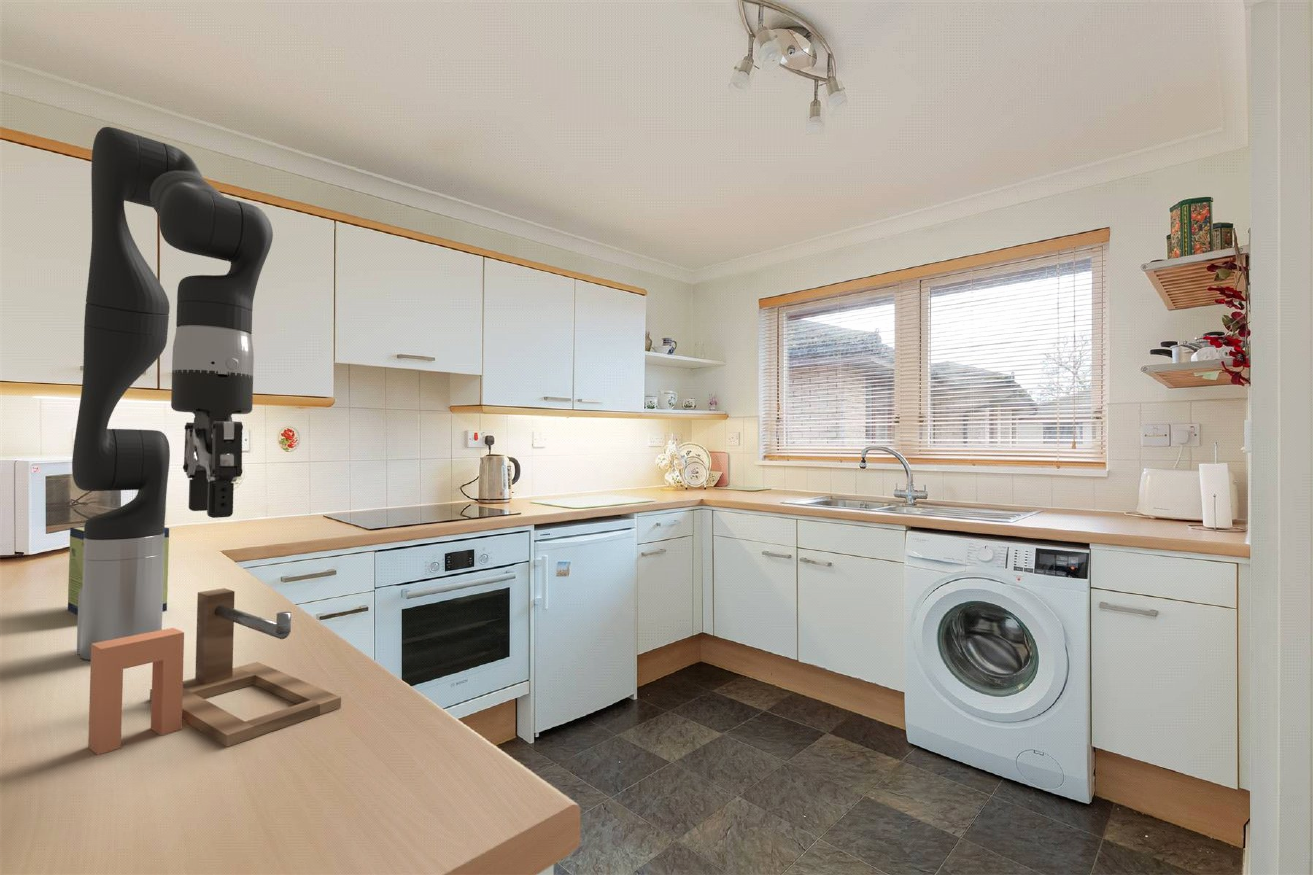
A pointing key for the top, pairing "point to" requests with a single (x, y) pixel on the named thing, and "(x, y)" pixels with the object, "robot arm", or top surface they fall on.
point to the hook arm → (258, 621)
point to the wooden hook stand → (239, 681)
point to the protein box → (77, 567)
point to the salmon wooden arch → (108, 684)
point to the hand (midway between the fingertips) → (209, 513)
